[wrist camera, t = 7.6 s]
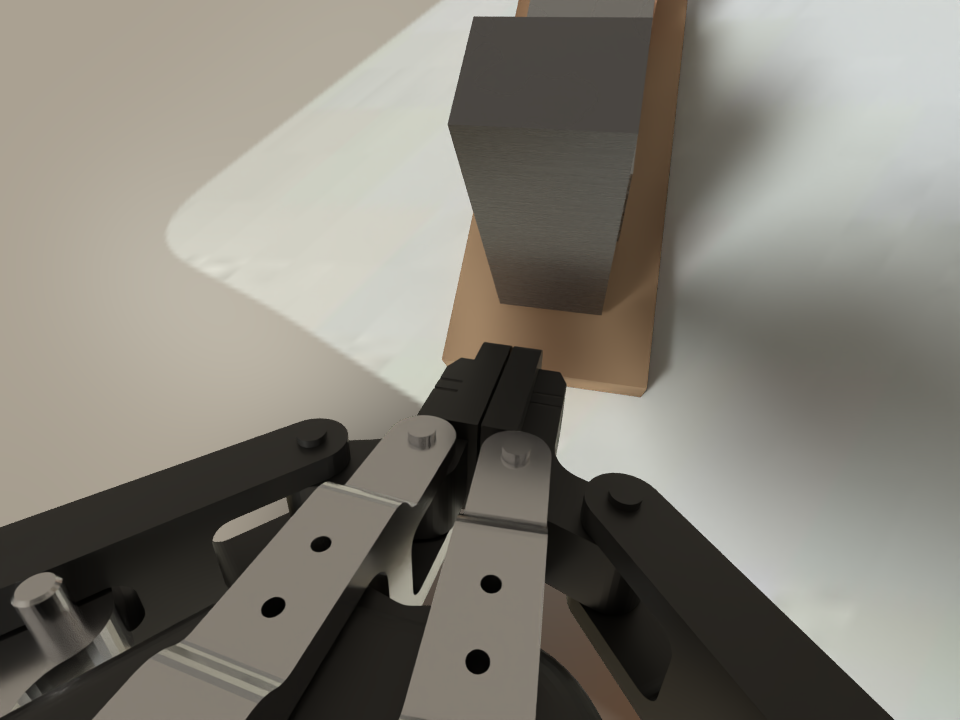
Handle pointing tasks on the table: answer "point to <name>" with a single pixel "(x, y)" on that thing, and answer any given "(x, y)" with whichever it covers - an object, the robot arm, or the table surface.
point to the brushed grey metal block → (550, 149)
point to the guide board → (635, 267)
